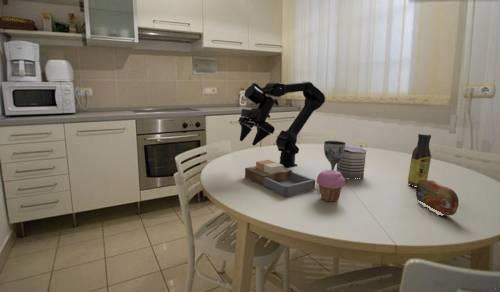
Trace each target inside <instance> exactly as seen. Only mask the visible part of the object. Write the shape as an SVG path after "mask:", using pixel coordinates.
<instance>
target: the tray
mask: <svg viewBox="0 0 500 292" xmlns="http://www.w3.org/2000/svg"><path fill="white" fill-rule="evenodd" d="M262 187H263V188H265V189H267V190H269V191H272V192H274V193H276V194H278V195H280V196H282V197H284V198H287V197H291V196H295V195H298V194H302V193H306V192H310V191H314V190H316V179H314V178H311V177H309V176H305V175H303V174H301V173H298V172H294V171H292V172H290V179H289V180H285V181H281V182H276V181H274V180H272V179H269V178H267V177H264V184H263V186H262Z"/></svg>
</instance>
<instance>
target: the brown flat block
mask: <svg viewBox="0 0 500 292" xmlns="http://www.w3.org/2000/svg"><path fill="white" fill-rule="evenodd" d="M290 172H293V169H290V168H288V167H283V172H278V173H273V174H270V173H268V172H265V171H264V170H260V169H258V168H256V165H255V166H250V167H245V168H244V179H246V180H249V181H251V182H253V183H255V184H257V185H259V186H261V187H263V184H264V177H267V178H269V179H272V180H274V181H276V182H281V181H285V180H289V179H290Z"/></svg>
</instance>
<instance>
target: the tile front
mask: <svg viewBox="0 0 500 292" xmlns="http://www.w3.org/2000/svg"><path fill="white" fill-rule="evenodd" d="M279 163H280V162H279ZM279 163H278V162H275V163H270V164H264V171H265V172H268V173H270V174H273V173H278V172H283V167H284V165H282V164H279Z"/></svg>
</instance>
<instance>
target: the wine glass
mask: <svg viewBox="0 0 500 292" xmlns="http://www.w3.org/2000/svg"><path fill="white" fill-rule="evenodd" d="M346 145H347V143H346V142H344V141H341V140H340V141H339V140H325V141H324V143H323V152H324V153H323V154H324V157H325V158H326V160H327V161H328V163H329V164H330V168H331V169H330V170H335V167H336V166H337V163H338V162H339V161H340V160H341V159H342V157H343V155H344V152H345V146H346Z"/></svg>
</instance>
